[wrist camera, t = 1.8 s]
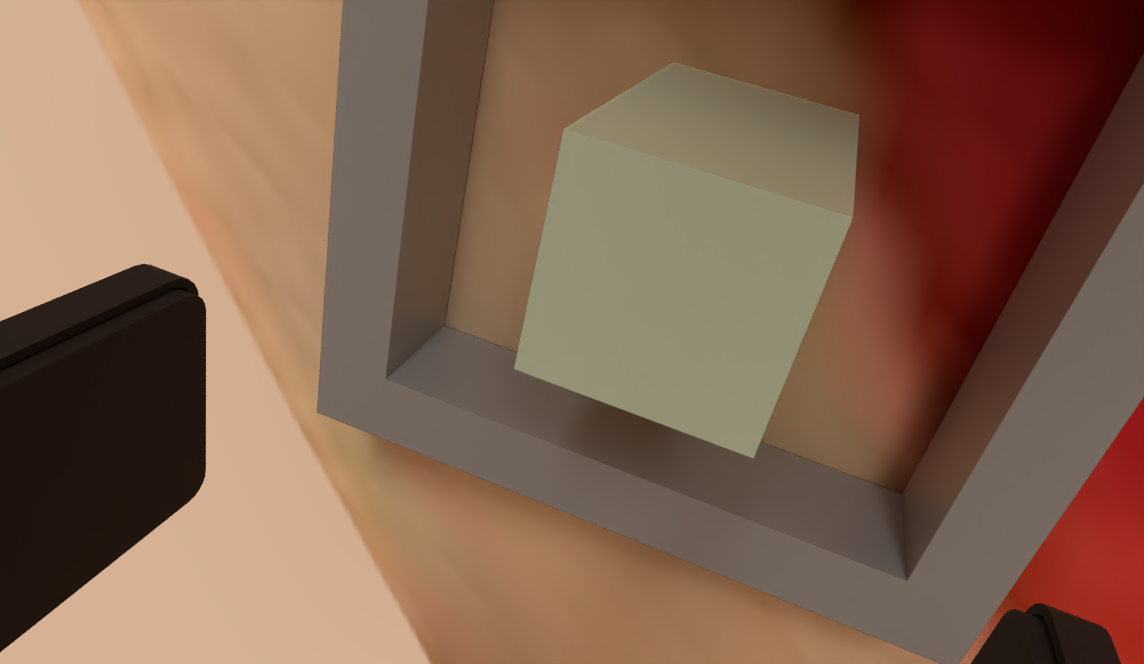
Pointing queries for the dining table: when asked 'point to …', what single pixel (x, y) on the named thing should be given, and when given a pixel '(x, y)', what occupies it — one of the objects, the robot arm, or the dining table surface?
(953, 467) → the grey square frame
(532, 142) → the dining table surface
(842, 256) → the dining table surface
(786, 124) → the green box
